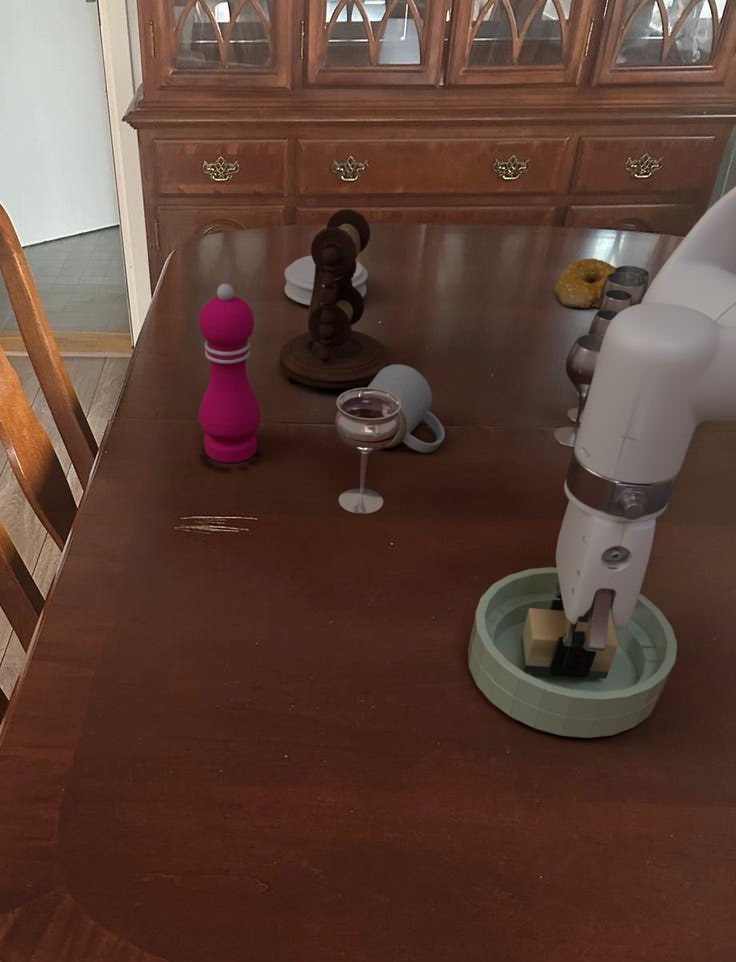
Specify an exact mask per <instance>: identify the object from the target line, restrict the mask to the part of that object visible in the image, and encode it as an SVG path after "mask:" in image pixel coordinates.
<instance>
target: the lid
mask: <svg viewBox="0 0 736 962" xmlns="http://www.w3.org/2000/svg"><path fill="white" fill-rule="evenodd" d="M356 262H357V267H356V272H355V274H353V275H354V277H353V278H351V280H352V284H353V287H354V288H356V289H357V290H358V291H359V292H360V294H361V295H362V297H363V298H364V297H365V296H366V294H367V286H366V281H367V279H368V270H367V269H366V267H364V266H363V265H362V264H361V263H360V262H359V261H357V260H356ZM314 276H315V263H314V261H313V259H312V255H311V254H310V255H307V256H303V257H300V258H297V259H296V260H294V261H293V262H292V263H291V264H290V265H288V266H287V267H285V270H284V278H285V280H286V283H285V285H284V293H285V295H286V296H287V297H288V298H290V299H291V300H293V301H294V302H296V303H300V304H303V305H306V306H310V302H311V296H312V291H313V285H314ZM323 287H324V285H323ZM321 305H322V303H321Z"/></svg>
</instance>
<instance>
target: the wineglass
mask: <svg viewBox="0 0 736 962" xmlns="http://www.w3.org/2000/svg"><path fill="white" fill-rule="evenodd" d="M335 405H336V407H337V409H338V410H337V411H336V413H335V417H334V425H335V426H334V427H335V431H336V434H337V435H338V437H339V439H340V440H341V441H342V442H343V443H344V444H345V445H346V446H348V447H349V448H350V449H352V450H355V451H357V452H359V453H360V475H359V476H360V477H359V479H360V480H359V481H360V482H359V487H355V488H351V489H346V490H344V491H343V492H341V494H340V495H339V497H338V504H339V506H341V507H342V508H343V509H344V510H345V511H347V512H350V513H354V514H360V515H361V514H362V515H365V514H373V513H375V512H378V510H380V509H381V508H382V507H383V505H384V498H383V496H382V495H381V494H380V493H378V492H377V491H375V490H373V489H369V488H365V484H366V483H365V482H366V474H367V468H368V460H369V454H371V453H373V452H376V451H379V450H381V449H384V448H383V447H384V446H386V445H387V444H389V443H390V442H391V441H392V440H393V439H394V437H395V436H396V434H397V432H398V431H399V426H400V417H399V413H398V411H399V410H400V408H401V401H400V400H399V398H398V397H397V396H395V395H394V394H393V393H391V392H388V391H385V390H382V389H377V388H367V387H363V388H356V389H355V388H352V389H349V390H345V391H344V392H342V393H341V394H340V395H339V396H338V397H337V399H336V404H335Z"/></svg>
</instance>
